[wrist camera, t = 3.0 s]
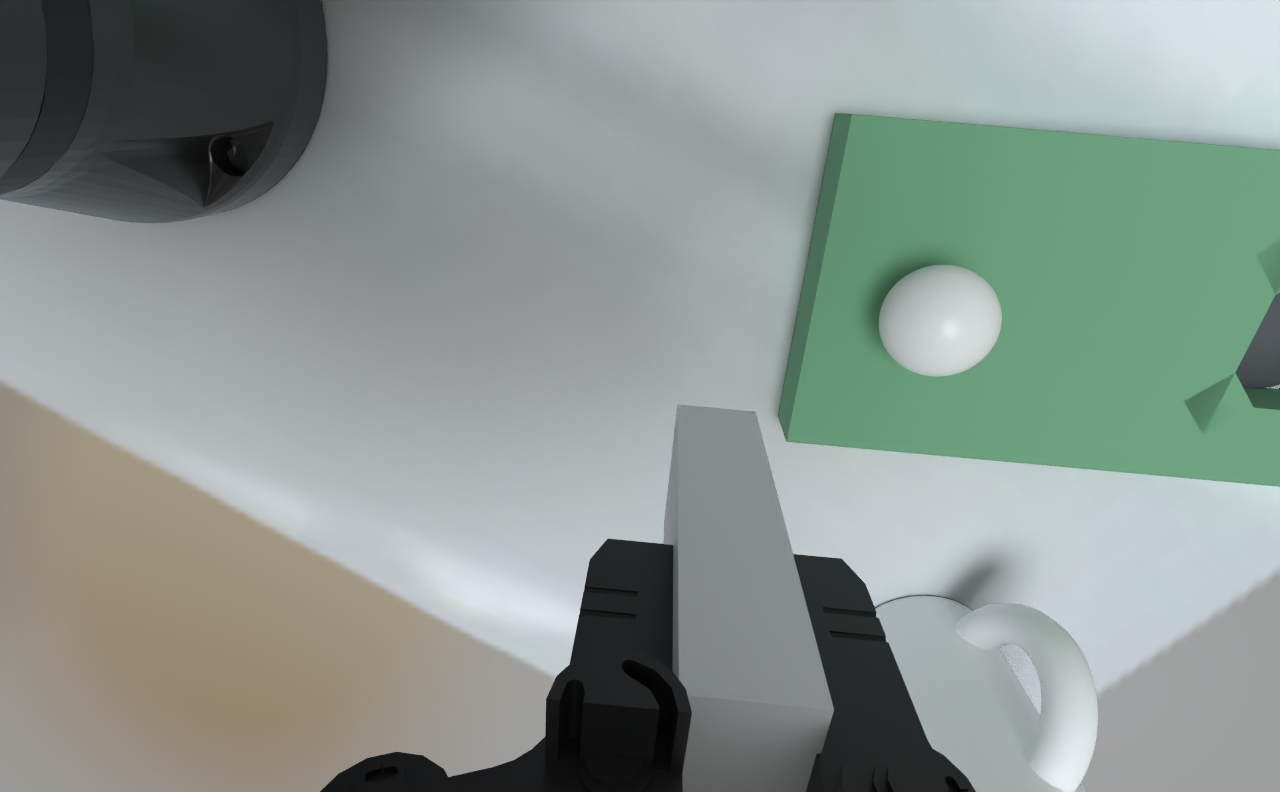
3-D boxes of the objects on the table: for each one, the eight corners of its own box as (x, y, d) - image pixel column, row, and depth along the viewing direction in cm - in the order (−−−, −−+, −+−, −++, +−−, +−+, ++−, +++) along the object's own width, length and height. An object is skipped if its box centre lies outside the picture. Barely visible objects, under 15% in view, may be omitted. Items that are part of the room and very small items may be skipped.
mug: (1070, 571, 32) (1270, 806, 22) (939, 716, 37) (1049, 968, 26) (931, 518, 31) (1066, 735, 21) (815, 674, 36) (876, 917, 25)
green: (778, 415, 29) (838, 596, 19) (835, 113, 24) (969, 119, 13) (1390, 471, 29) (1818, 688, 18) (1590, 177, 24) (2373, 237, 13)
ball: (855, 348, 25) (886, 389, 22) (879, 249, 24) (916, 275, 20) (954, 357, 25) (1002, 399, 22) (985, 258, 24) (1042, 286, 20)
